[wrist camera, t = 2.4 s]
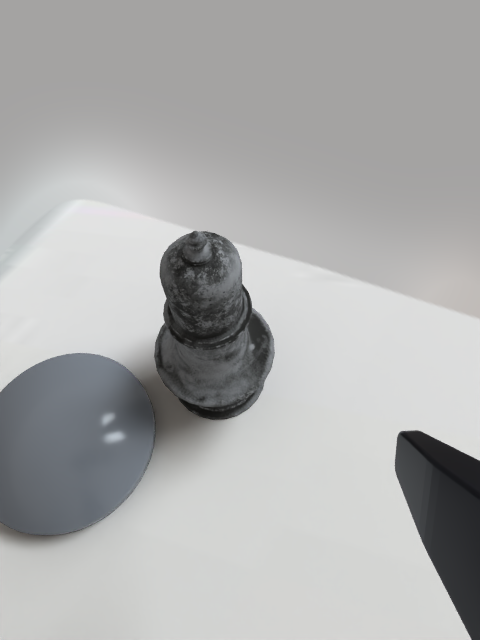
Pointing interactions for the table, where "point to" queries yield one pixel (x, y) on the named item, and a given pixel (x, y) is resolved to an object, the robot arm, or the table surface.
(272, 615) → the table surface
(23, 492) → the disc
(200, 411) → the grey upright turned piece
